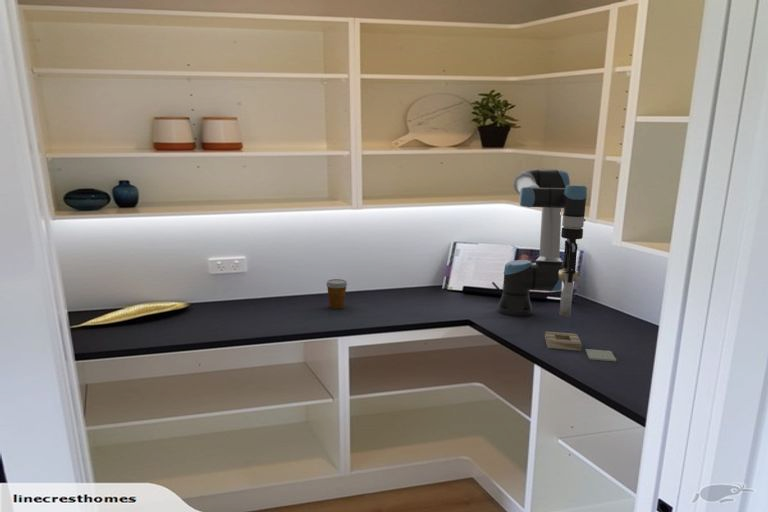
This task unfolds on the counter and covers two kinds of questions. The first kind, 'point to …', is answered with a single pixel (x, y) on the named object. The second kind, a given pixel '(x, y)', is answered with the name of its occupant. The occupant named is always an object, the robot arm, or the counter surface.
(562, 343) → the plate
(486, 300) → the counter surface
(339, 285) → the orange pill bottle
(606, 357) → the rubber mat
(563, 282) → the steel peg
